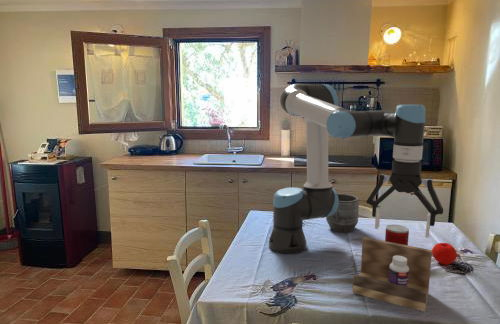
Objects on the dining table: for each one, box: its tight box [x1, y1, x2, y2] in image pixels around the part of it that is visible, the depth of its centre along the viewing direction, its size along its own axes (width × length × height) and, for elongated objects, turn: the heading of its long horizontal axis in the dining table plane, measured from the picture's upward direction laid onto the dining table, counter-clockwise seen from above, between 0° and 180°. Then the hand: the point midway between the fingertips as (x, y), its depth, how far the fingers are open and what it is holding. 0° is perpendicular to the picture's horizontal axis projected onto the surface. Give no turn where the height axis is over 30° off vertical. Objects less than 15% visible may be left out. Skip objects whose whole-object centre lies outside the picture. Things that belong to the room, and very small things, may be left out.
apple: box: [431, 242, 458, 266], centre depth 127 cm, size 8×8×7 cm
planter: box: [325, 193, 360, 233], centre depth 161 cm, size 14×14×15 cm
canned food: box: [384, 224, 410, 246], centre depth 133 cm, size 8×8×11 cm
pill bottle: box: [388, 255, 409, 287], centre depth 105 cm, size 5×5×10 cm
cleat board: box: [352, 236, 433, 312], centre depth 107 cm, size 20×11×14 cm, turn 59°
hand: (401, 231), depth 103 cm, fingers open, 13 cm apart
